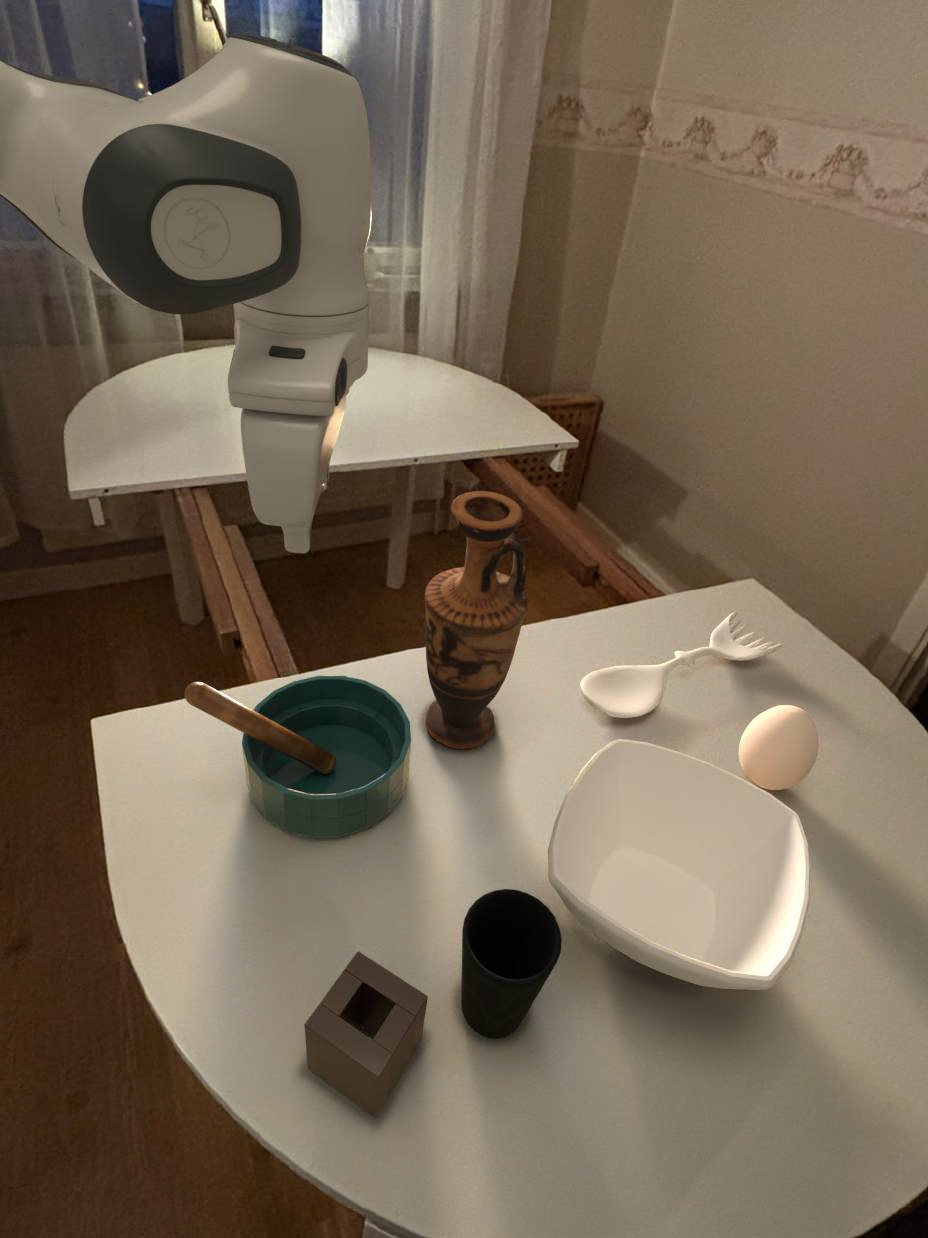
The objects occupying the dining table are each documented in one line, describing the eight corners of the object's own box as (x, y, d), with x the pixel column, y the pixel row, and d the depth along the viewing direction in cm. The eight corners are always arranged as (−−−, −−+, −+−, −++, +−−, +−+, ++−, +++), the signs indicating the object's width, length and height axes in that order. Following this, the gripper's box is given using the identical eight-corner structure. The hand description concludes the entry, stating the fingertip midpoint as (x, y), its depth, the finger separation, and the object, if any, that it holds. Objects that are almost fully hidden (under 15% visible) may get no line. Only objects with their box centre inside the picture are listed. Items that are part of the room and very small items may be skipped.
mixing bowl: (345, 871, 72) (344, 828, 68) (213, 791, 78) (205, 747, 74) (435, 759, 85) (440, 717, 80) (316, 698, 90) (315, 655, 86)
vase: (412, 755, 85) (430, 534, 66) (416, 689, 93) (433, 476, 75) (505, 761, 86) (550, 543, 67) (501, 695, 94) (539, 486, 75)
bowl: (743, 1084, 61) (796, 1022, 54) (501, 954, 67) (519, 883, 60) (779, 876, 77) (824, 807, 70) (581, 787, 84) (603, 716, 76)
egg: (767, 818, 83) (806, 750, 76) (713, 769, 88) (745, 701, 81) (809, 790, 87) (850, 723, 80) (755, 744, 92) (789, 678, 85)
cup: (488, 1073, 60) (508, 1006, 52) (431, 996, 64) (442, 924, 56) (555, 1013, 64) (582, 943, 56) (497, 944, 68) (515, 871, 61)
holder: (375, 1119, 56) (378, 1078, 51) (307, 1068, 59) (303, 1024, 54) (421, 1040, 61) (428, 996, 56) (356, 996, 63) (357, 950, 58)
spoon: (777, 661, 105) (786, 643, 103) (608, 737, 90) (615, 718, 88) (729, 625, 111) (737, 607, 109) (563, 691, 96) (568, 671, 94)
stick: (335, 777, 79) (185, 698, 70) (323, 777, 81) (176, 700, 72) (343, 757, 80) (197, 676, 71) (332, 757, 82) (187, 678, 73)
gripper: (284, 293, 58) (292, 454, 67) (218, 391, 42) (239, 586, 51) (364, 302, 59) (361, 460, 67) (329, 402, 43) (331, 593, 51)
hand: (308, 515), depth 59 cm, fingers open, 8 cm apart
